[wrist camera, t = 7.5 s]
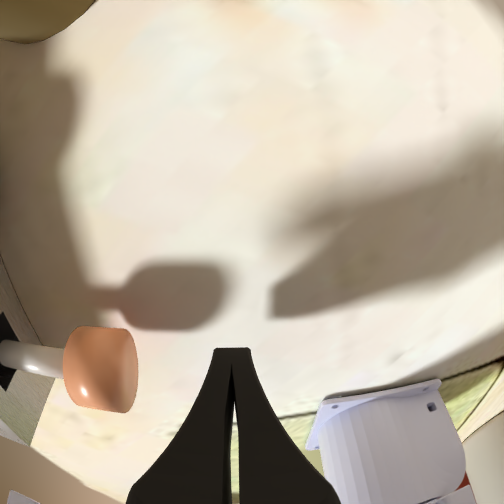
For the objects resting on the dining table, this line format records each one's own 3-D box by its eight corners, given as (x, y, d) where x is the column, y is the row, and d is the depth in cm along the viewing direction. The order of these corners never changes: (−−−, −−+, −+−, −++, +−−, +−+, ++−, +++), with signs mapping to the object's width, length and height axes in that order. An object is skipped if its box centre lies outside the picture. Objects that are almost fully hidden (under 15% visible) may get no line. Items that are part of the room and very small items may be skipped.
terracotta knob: (123, 310, 12) (98, 379, 9) (143, 365, 14) (129, 428, 11) (6, 303, 12) (-27, 352, 9) (33, 352, 13) (10, 401, 10)
